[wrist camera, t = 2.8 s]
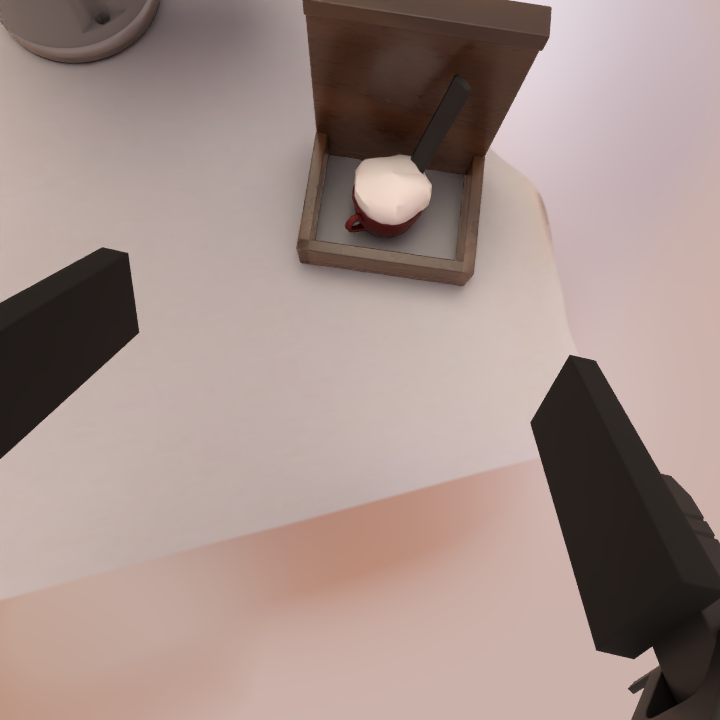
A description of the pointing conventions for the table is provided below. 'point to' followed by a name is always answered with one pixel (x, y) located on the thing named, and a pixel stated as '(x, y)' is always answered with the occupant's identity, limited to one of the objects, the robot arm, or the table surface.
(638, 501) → the robot arm
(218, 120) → the table surface
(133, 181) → the table surface
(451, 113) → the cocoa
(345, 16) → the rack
